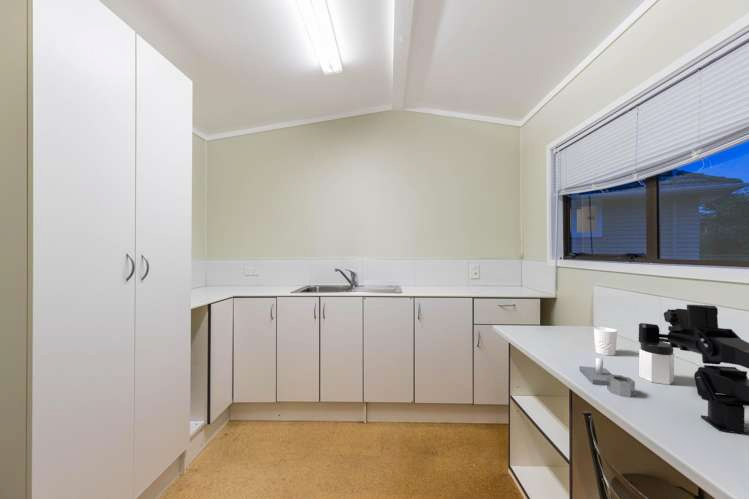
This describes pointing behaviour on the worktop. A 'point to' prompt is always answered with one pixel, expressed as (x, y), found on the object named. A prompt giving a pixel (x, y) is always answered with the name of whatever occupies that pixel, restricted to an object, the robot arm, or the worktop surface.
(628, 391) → the hub ring
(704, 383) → the robot arm
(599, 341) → the white cup
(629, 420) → the worktop surface
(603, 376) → the block
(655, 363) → the jar
